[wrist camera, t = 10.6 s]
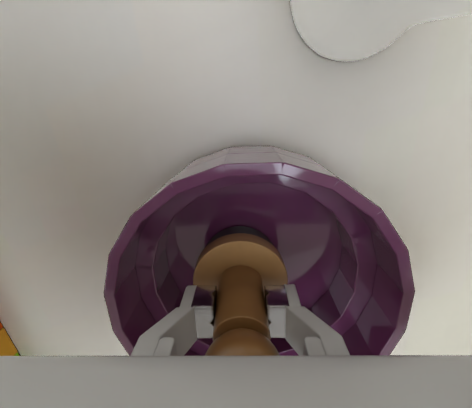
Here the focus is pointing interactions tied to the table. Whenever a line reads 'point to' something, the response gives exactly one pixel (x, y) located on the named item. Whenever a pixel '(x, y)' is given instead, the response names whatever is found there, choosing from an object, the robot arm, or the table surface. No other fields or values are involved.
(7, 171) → the table surface
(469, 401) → the robot arm
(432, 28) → the table surface
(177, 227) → the bowl
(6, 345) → the chart
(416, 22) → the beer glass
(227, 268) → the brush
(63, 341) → the table surface
